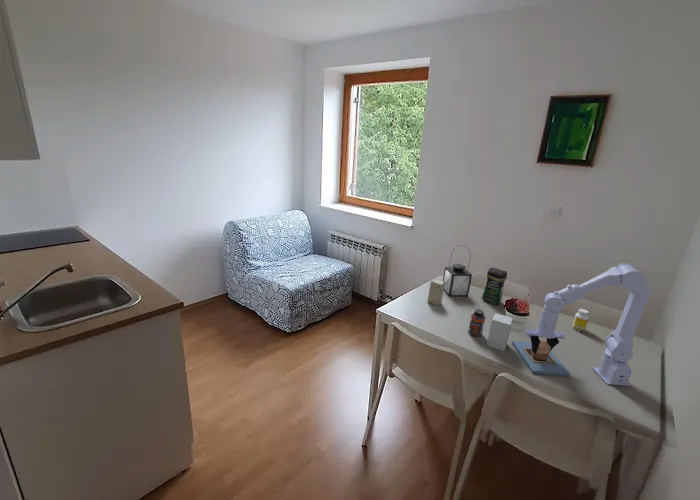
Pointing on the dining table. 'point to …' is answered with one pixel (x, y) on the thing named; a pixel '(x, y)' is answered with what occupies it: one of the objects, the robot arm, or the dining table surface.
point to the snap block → (542, 351)
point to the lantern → (457, 280)
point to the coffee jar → (494, 285)
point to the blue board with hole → (540, 366)
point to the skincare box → (436, 292)
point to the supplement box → (499, 332)
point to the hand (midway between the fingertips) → (540, 352)
